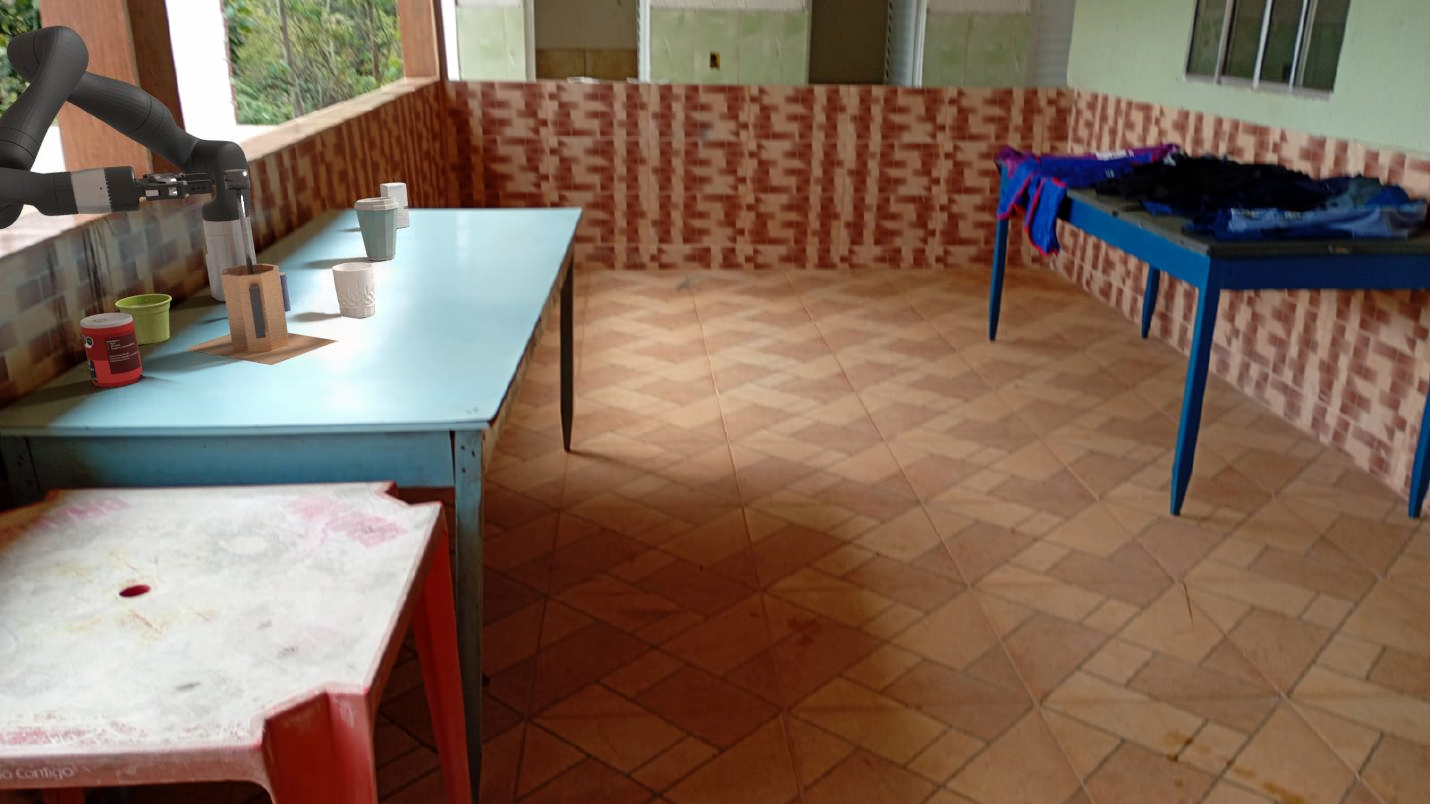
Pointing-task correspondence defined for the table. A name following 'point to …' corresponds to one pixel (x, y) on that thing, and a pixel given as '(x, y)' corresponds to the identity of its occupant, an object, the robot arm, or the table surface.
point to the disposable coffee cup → (378, 226)
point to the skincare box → (401, 197)
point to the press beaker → (255, 308)
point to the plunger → (240, 206)
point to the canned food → (111, 349)
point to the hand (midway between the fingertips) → (210, 182)
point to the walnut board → (294, 348)
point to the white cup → (355, 289)
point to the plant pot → (148, 316)
